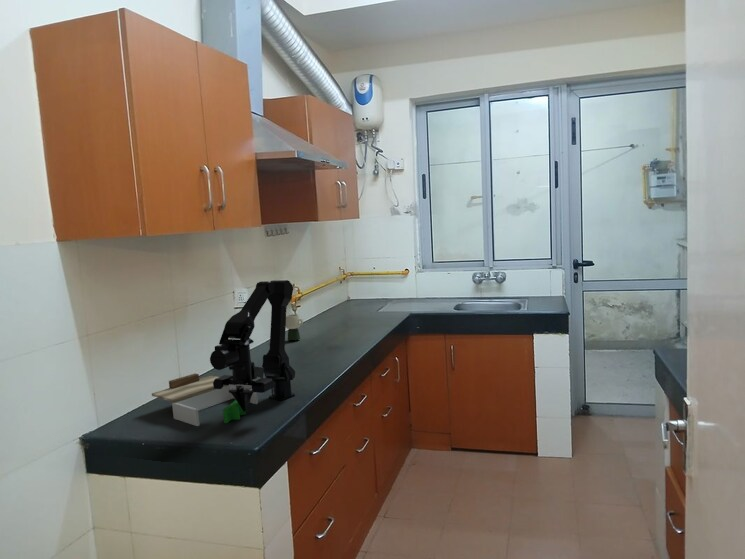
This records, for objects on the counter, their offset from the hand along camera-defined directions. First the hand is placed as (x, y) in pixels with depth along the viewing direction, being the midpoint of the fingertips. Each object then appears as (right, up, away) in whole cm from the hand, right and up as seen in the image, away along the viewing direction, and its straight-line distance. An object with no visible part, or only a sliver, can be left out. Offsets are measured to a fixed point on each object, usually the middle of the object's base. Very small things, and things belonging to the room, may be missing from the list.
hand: (245, 411), depth 162 cm
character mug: (-1, +9, +107) cm, 107 cm away
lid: (-21, +4, +15) cm, 26 cm away
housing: (-11, -2, +8) cm, 13 cm away
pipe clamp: (-3, -2, +1) cm, 4 cm away
